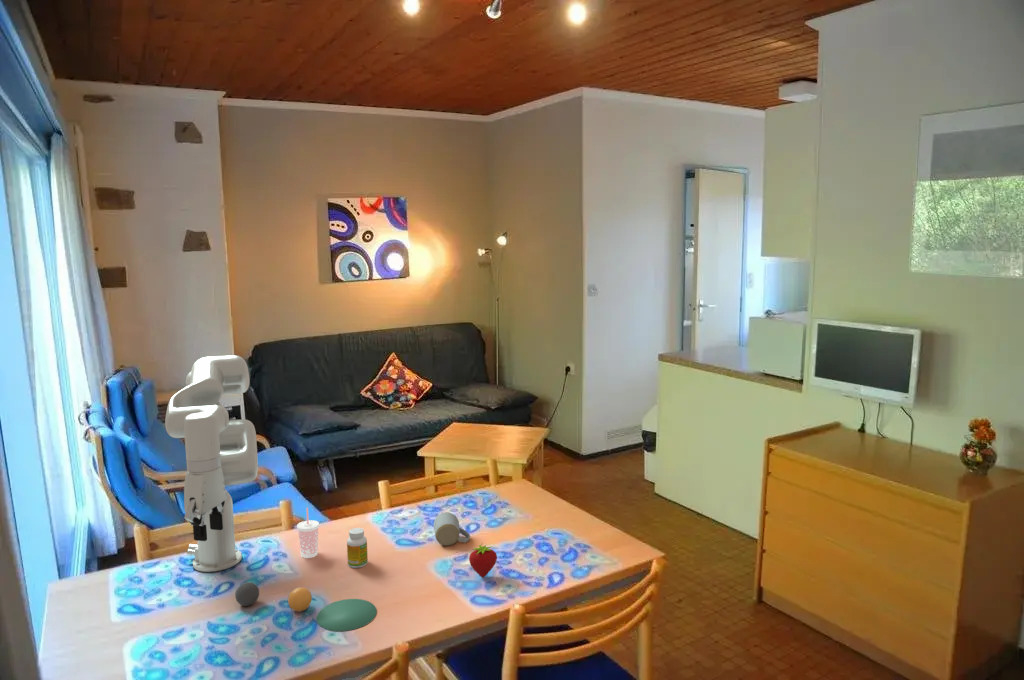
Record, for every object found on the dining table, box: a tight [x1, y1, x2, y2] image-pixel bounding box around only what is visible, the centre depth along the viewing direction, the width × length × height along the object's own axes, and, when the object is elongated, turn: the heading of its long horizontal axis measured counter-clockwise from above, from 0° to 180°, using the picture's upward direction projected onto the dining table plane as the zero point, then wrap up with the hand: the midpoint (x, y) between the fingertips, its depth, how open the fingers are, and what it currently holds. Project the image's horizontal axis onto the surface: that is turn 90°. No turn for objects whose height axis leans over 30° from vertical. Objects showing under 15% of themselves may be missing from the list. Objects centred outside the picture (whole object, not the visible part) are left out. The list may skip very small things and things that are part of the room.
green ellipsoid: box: [316, 598, 378, 632], centre depth 163 cm, size 14×14×1 cm
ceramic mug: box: [433, 511, 471, 547], centre depth 203 cm, size 11×8×8 cm
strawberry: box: [468, 542, 498, 578], centre depth 181 cm, size 6×8×10 cm
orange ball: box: [287, 586, 313, 612], centre depth 165 cm, size 6×6×6 cm
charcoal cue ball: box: [234, 581, 260, 607], centre depth 167 cm, size 6×6×6 cm
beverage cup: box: [296, 507, 320, 559], centre depth 194 cm, size 6×6×14 cm
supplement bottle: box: [346, 527, 368, 569], centre depth 188 cm, size 5×5×10 cm
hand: (208, 534), depth 167 cm, fingers open, 5 cm apart
